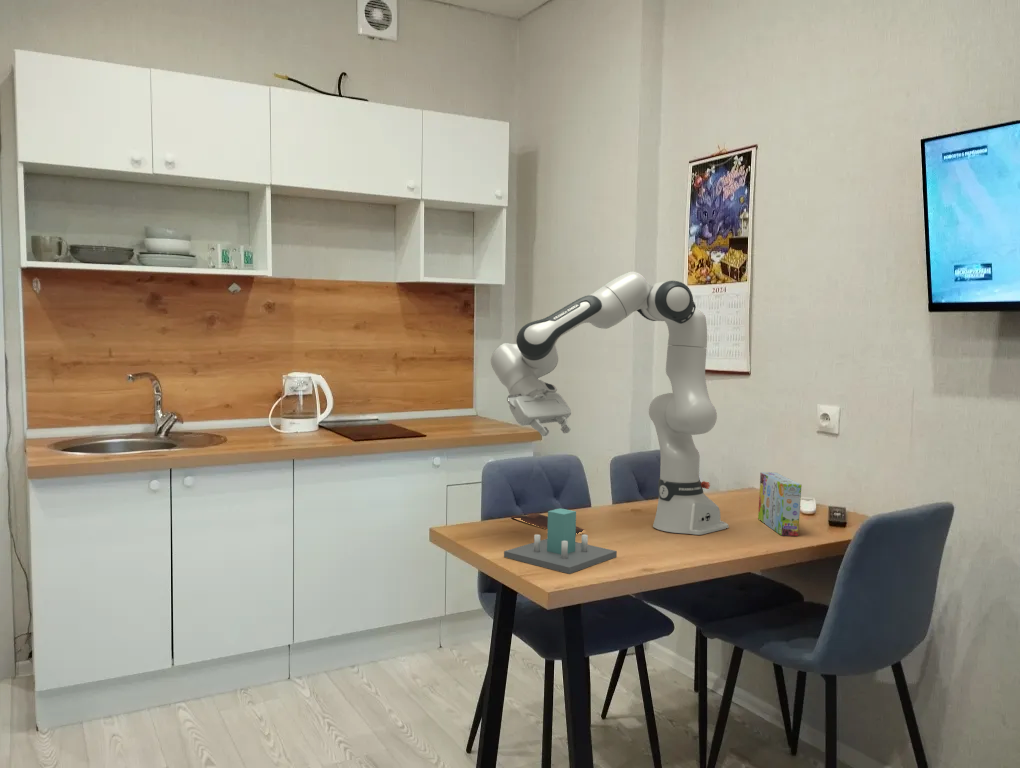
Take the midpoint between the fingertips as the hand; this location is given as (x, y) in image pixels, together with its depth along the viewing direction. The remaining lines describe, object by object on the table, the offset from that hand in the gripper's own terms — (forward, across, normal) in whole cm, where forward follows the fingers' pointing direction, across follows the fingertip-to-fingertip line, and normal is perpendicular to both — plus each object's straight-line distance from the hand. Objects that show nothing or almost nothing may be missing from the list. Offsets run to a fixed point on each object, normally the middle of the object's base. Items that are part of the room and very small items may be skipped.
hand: (557, 433), depth 208 cm
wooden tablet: (+12, +15, +31) cm, 36 cm away
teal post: (+26, -10, +13) cm, 31 cm away
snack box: (+47, +61, -5) cm, 77 cm away
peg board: (+28, -10, +14) cm, 32 cm away
